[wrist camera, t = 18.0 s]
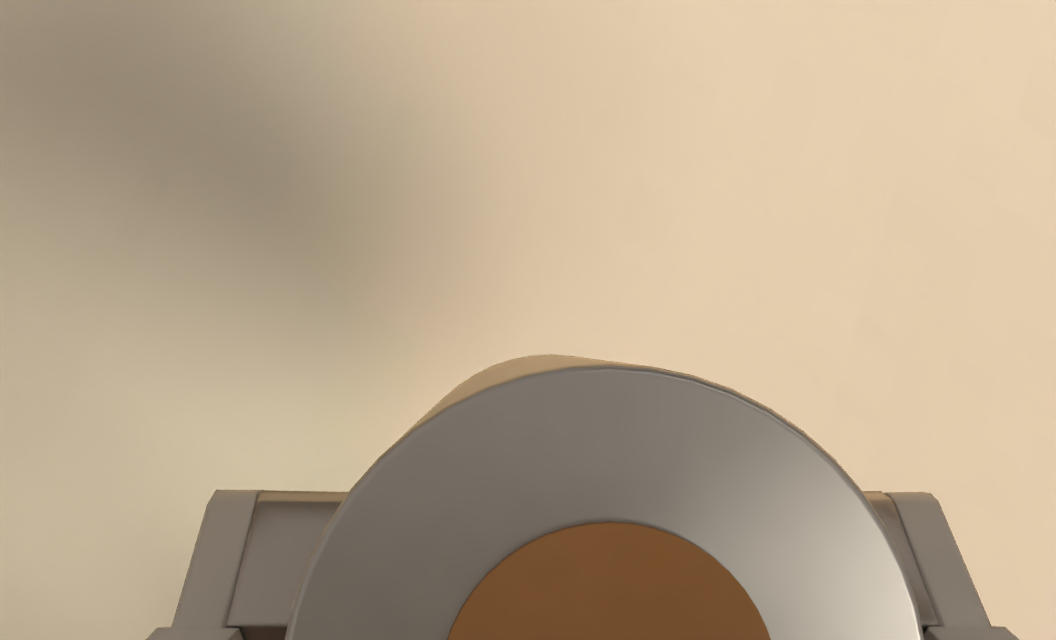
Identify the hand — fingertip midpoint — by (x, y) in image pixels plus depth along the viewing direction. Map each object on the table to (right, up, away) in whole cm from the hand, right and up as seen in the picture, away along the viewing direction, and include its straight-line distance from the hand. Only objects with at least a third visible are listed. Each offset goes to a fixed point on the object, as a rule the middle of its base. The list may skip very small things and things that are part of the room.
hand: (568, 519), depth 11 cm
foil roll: (0, -1, +4) cm, 4 cm away
